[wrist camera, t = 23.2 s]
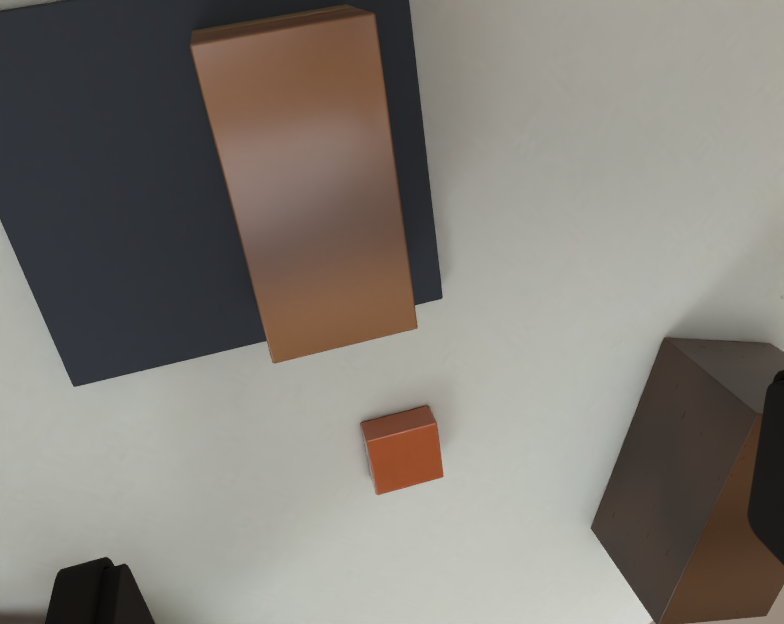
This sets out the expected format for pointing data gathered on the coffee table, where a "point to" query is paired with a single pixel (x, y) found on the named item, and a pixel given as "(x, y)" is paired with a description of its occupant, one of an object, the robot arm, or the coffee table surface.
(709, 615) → the stand
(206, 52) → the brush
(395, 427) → the orange square block
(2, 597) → the coffee table surface
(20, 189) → the mat
